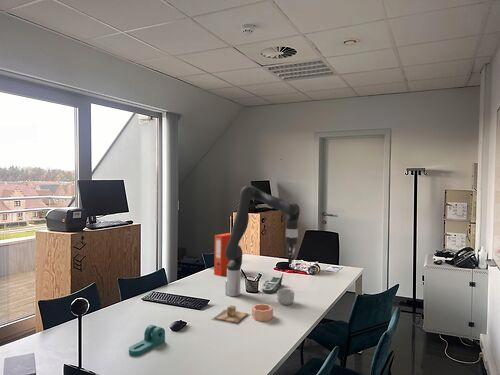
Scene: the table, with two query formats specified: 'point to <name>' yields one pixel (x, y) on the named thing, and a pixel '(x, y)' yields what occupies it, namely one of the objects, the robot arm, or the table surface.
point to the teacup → (285, 296)
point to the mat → (231, 322)
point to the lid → (231, 315)
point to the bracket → (148, 340)
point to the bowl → (262, 312)
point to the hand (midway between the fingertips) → (290, 261)
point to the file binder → (221, 254)
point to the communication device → (271, 285)
